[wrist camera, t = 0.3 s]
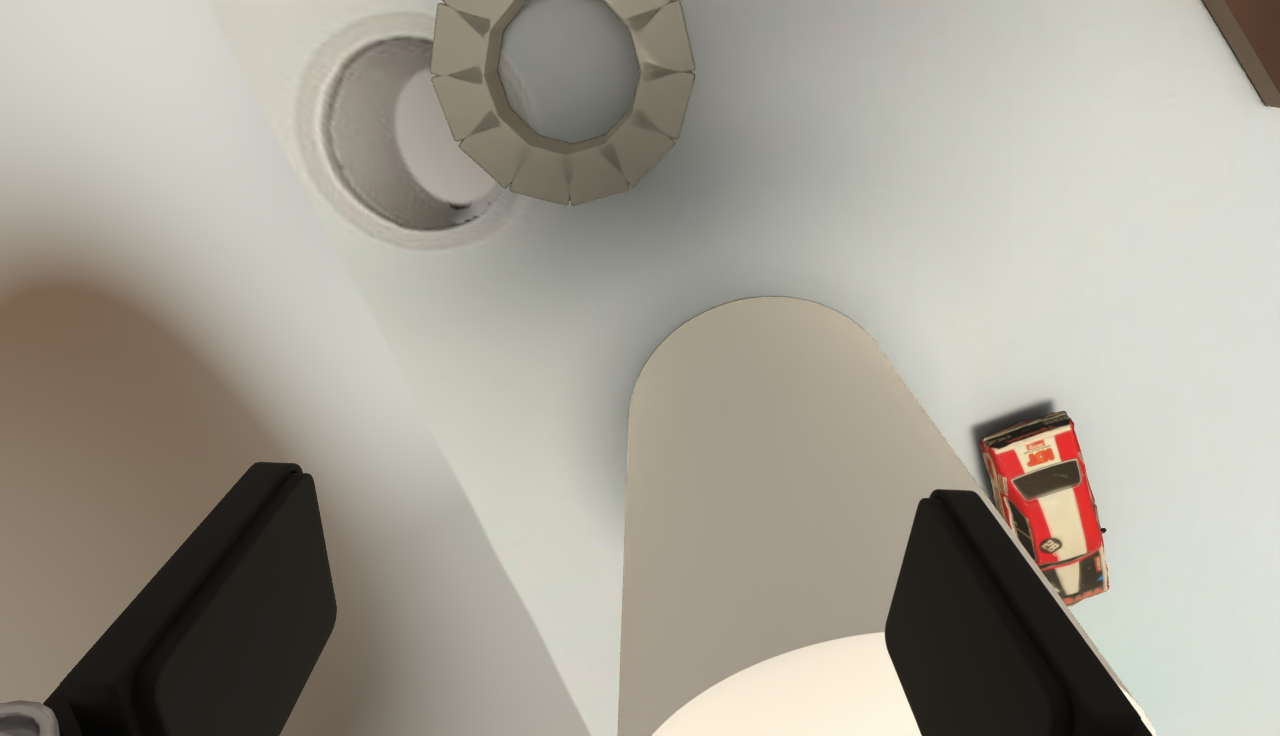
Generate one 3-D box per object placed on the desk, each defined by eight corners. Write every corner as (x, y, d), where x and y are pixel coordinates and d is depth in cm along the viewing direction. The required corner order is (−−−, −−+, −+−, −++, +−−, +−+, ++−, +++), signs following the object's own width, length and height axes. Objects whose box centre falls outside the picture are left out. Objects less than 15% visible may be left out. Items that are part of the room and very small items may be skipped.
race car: (1055, 385, 37) (1105, 418, 32) (1094, 577, 40) (1144, 631, 35) (959, 413, 37) (994, 449, 33) (1004, 598, 41) (1042, 654, 36)
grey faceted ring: (558, -134, 26) (549, -150, 23) (737, 67, 28) (745, 71, 26) (401, 71, 29) (380, 76, 26) (577, 234, 32) (572, 251, 29)
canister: (584, 471, 37) (531, 892, 19) (710, 248, 32) (798, 542, 14) (803, 561, 40) (935, 1004, 22) (952, 369, 34) (1290, 748, 16)
